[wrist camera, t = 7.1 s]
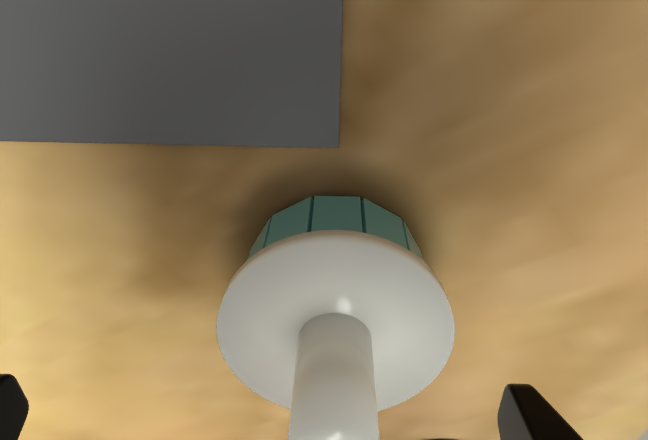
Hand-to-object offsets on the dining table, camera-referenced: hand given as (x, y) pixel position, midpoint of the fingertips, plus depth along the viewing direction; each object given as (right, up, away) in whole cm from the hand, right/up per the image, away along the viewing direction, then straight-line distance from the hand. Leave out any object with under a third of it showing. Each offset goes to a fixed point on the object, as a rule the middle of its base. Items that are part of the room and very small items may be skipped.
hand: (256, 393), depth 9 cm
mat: (-5, +11, +8) cm, 14 cm away
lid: (+2, -1, +10) cm, 10 cm away
